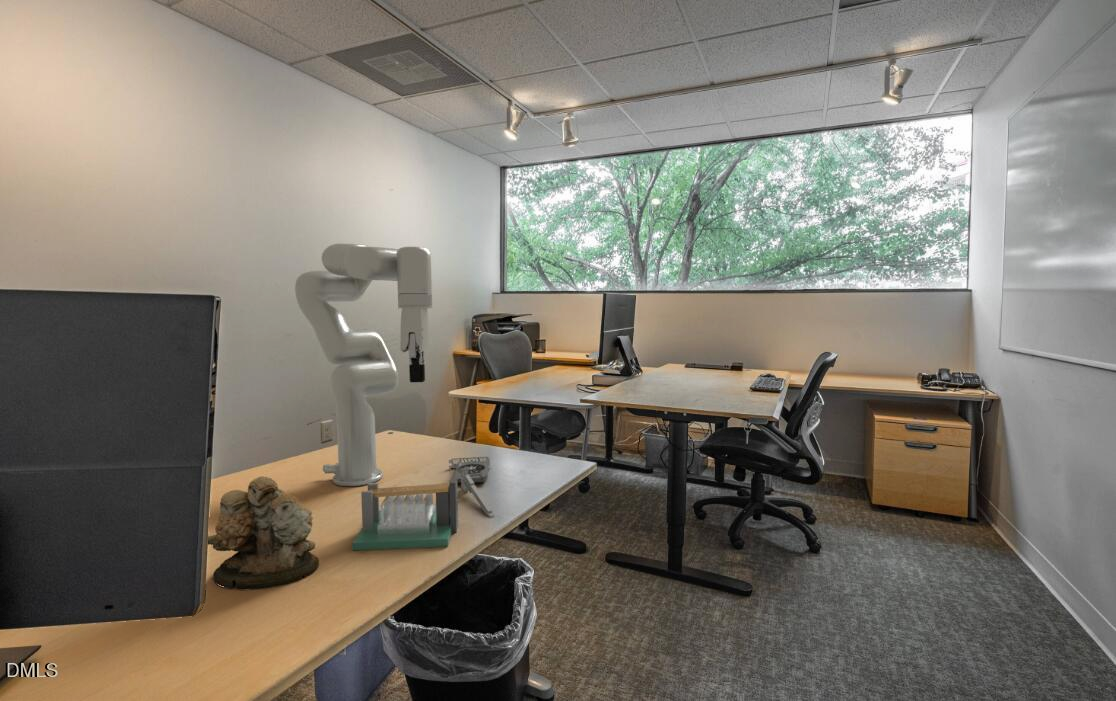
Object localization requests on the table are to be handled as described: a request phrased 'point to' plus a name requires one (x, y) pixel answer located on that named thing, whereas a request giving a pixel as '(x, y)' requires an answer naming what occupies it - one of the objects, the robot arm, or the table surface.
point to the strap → (410, 490)
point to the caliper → (474, 492)
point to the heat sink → (406, 514)
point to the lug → (448, 506)
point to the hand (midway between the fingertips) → (417, 381)
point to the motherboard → (372, 540)
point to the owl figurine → (263, 537)
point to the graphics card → (472, 468)
